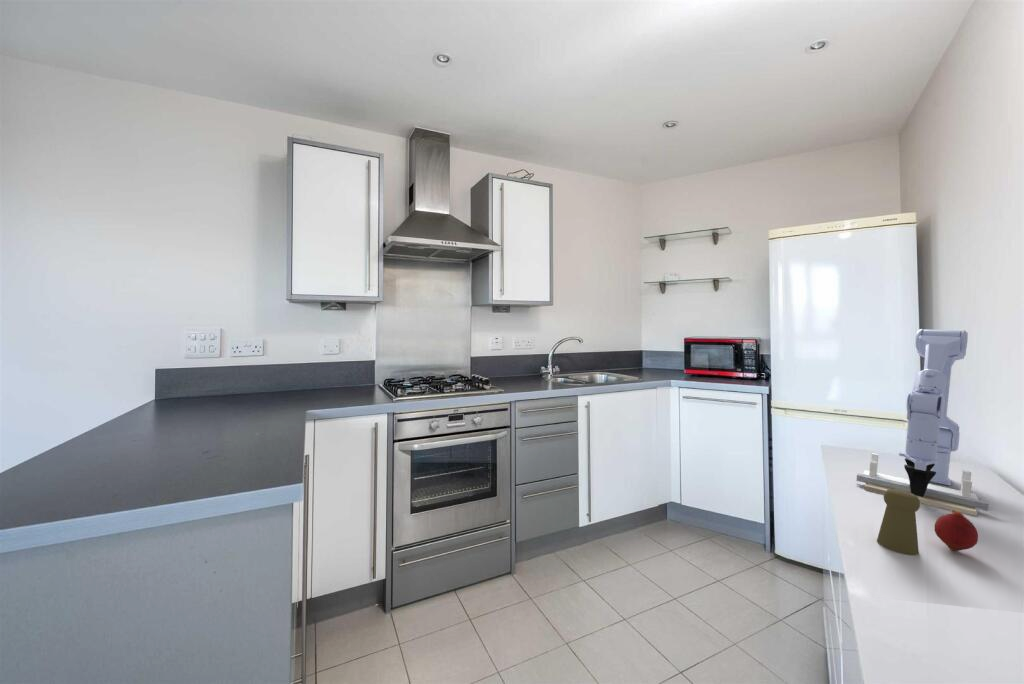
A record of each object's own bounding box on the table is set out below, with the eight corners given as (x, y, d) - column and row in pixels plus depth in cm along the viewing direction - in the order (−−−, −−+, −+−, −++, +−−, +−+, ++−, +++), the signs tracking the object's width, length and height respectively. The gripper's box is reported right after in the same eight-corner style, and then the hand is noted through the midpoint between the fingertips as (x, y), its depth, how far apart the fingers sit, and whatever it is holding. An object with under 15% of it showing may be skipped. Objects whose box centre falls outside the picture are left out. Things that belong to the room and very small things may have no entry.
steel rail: (857, 479, 116) (857, 473, 116) (986, 508, 99) (987, 502, 99) (856, 480, 114) (856, 475, 114) (987, 511, 98) (988, 504, 98)
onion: (966, 547, 82) (970, 507, 82) (983, 562, 77) (988, 519, 77) (927, 539, 85) (930, 501, 84) (941, 553, 79) (945, 512, 79)
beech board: (866, 482, 117) (867, 478, 117) (972, 506, 103) (972, 502, 103) (864, 489, 111) (864, 485, 111) (976, 516, 97) (976, 511, 97)
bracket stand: (864, 475, 122) (866, 451, 122) (975, 499, 107) (978, 473, 107) (862, 479, 119) (864, 455, 118) (977, 505, 104) (980, 477, 103)
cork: (901, 540, 84) (906, 486, 83) (928, 556, 78) (933, 499, 77) (868, 537, 85) (873, 484, 84) (893, 553, 79) (898, 496, 78)
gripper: (901, 431, 114) (896, 479, 115) (900, 440, 104) (895, 493, 104) (937, 437, 109) (932, 487, 110) (940, 447, 99) (935, 503, 99)
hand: (917, 491), depth 107 cm, fingers open, 7 cm apart
